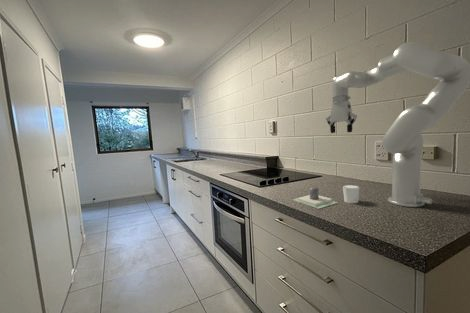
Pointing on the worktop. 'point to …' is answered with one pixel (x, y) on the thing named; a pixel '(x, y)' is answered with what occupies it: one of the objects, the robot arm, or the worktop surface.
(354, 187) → the white cup
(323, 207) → the mat
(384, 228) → the worktop surface
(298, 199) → the lid
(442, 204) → the worktop surface
